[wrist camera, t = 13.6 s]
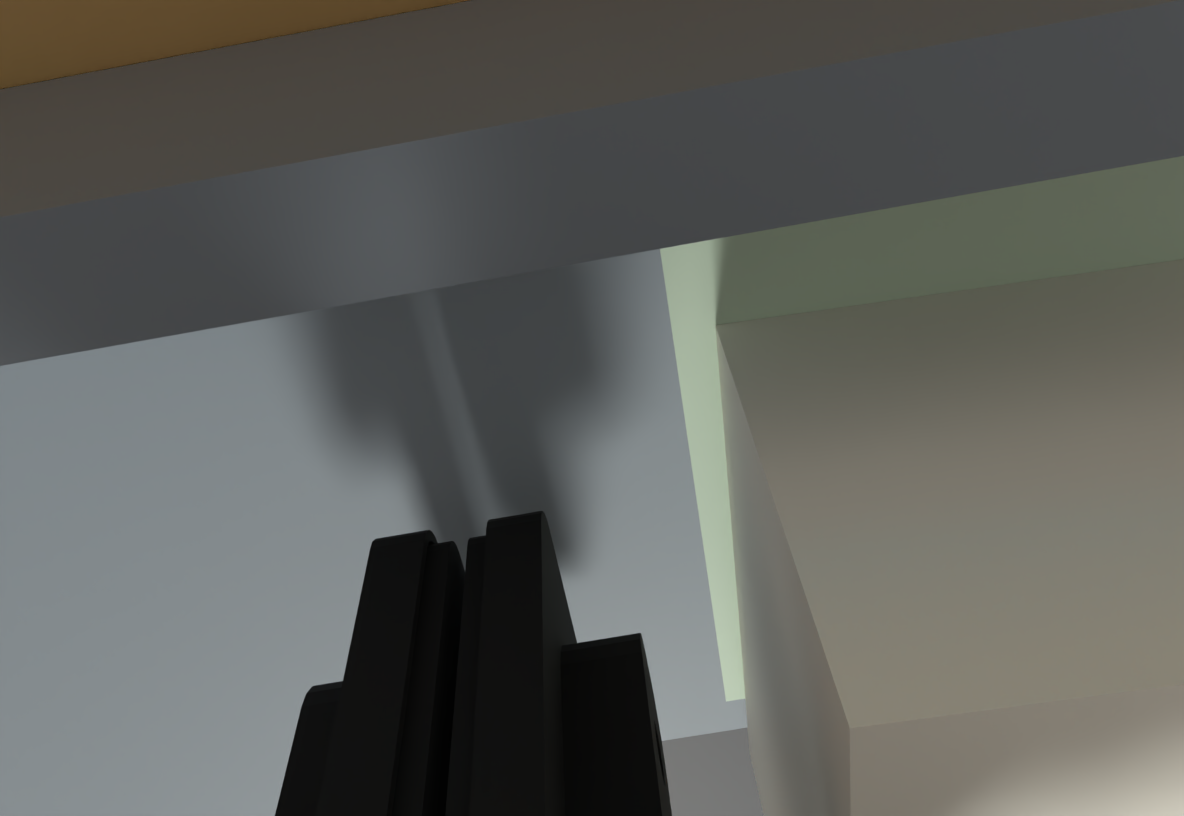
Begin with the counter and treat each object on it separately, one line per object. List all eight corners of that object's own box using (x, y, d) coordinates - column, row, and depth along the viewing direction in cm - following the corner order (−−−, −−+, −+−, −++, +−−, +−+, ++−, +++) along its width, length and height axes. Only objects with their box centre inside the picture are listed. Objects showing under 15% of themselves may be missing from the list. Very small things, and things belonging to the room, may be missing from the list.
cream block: (749, 752, 13) (853, 1219, 9) (715, 324, 10) (849, 728, 6) (1234, 689, 13) (1573, 1133, 9) (1348, 235, 10) (1952, 583, 6)
